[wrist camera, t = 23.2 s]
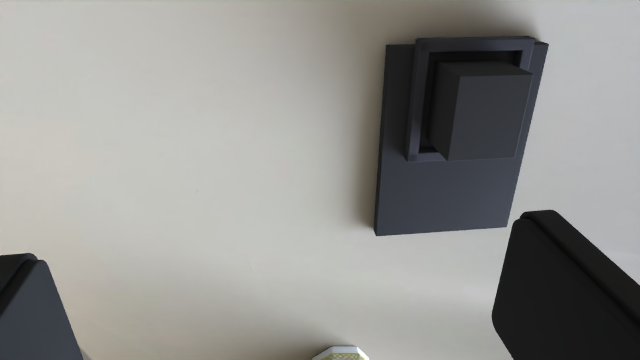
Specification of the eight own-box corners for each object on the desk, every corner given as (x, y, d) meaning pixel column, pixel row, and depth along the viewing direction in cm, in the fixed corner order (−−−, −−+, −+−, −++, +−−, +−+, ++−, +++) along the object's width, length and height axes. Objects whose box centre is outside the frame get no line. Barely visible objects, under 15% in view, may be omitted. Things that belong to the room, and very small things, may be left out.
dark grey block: (434, 60, 32) (459, 75, 28) (500, 58, 33) (534, 73, 29) (425, 138, 35) (447, 162, 31) (486, 135, 35) (515, 158, 31)
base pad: (386, 36, 32) (394, 41, 30) (543, 33, 33) (559, 37, 31) (373, 230, 39) (378, 243, 38) (501, 221, 41) (512, 233, 39)
